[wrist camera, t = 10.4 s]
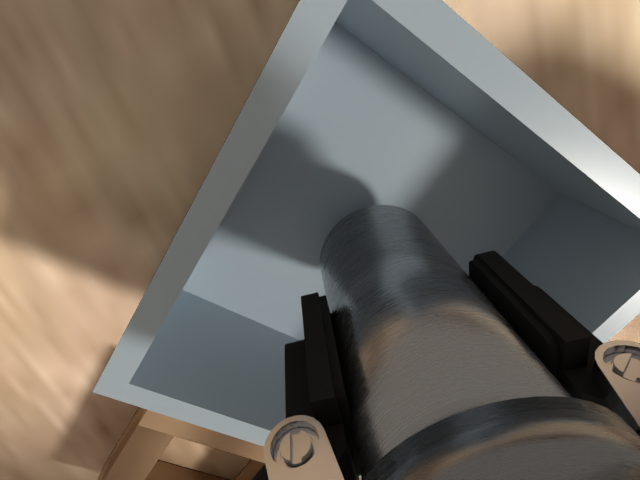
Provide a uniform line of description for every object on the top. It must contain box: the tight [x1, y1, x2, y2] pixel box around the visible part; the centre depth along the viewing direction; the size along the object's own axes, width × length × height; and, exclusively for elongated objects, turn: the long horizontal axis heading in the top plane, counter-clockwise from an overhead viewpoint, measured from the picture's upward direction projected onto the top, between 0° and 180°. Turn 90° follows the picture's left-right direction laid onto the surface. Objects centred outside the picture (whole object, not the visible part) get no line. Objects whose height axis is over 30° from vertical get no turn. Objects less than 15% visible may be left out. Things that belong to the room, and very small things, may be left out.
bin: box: [93, 0, 640, 477], centre depth 14 cm, size 14×14×6 cm
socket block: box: [98, 407, 265, 480], centre depth 20 cm, size 9×9×2 cm
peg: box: [320, 205, 640, 480], centre depth 10 cm, size 5×5×10 cm
